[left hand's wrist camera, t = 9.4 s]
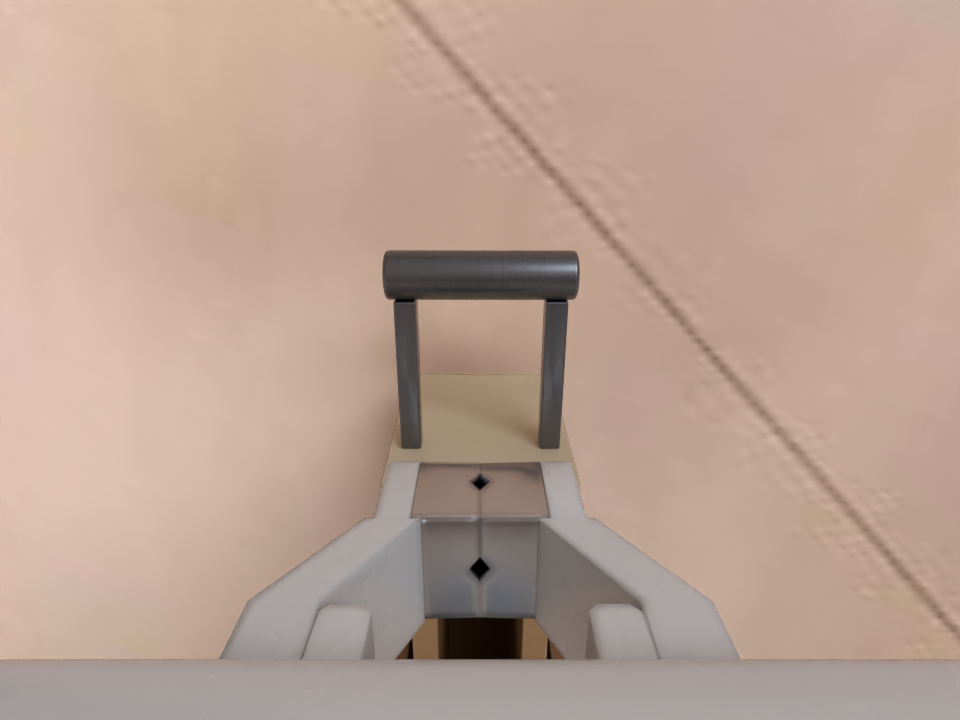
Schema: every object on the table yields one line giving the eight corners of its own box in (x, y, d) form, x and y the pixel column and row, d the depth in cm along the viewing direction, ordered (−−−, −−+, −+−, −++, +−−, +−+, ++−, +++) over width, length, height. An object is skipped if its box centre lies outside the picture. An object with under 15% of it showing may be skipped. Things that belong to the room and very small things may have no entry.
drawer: (401, 217, 21) (365, 269, 14) (559, 217, 21) (597, 270, 14) (422, 688, 30) (406, 857, 23) (534, 688, 30) (551, 857, 23)
